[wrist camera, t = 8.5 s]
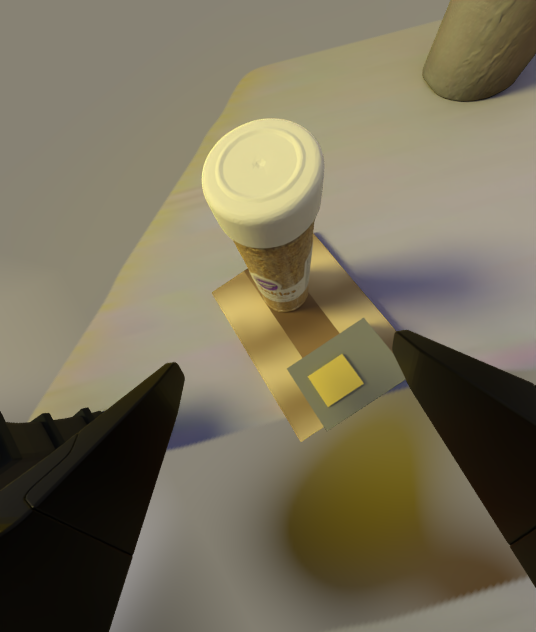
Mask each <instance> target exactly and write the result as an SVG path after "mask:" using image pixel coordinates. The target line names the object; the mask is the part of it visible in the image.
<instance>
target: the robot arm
mask: <svg viewBox="0 0 536 632" xmlns="http://www.w3.org/2000/svg"><path fill="white" fill-rule="evenodd" d="M392 351H393V354H394V356H395V358H396V360H397V362H398V364H399V366H400V369H401V371H402V373H403V375H404V377H405V379H406V381H407V383H408V385H409V387H410V389H411V390H412V392H413V394H414V395H415V397H416V398H417V400H418V401H419V403H420V405H421V406H422V408H423V410H424V411H425V413H426V414H427V416H428V417H429V419H430V421H431V422H432V424H433V425H434V427H435V429H436V430H437V432H438V433H439V435H440V437H441V438H442V440H443V441H444V443H445V444H446V446H447V447H448V449H449V451H450V452H451V454H452V456H453V457H454V459H455V460H456V462H457V463H458V465H459V467H460V468H461V470H462V471H463V473H464V475H465V476H466V478H467V479H468V481H469V482H470V484H471V486H472V487H473V489H474V490H475V492H476V494H477V495H478V497H479V498H480V500H481V501H482V503H483V505H484V506H485V508H486V509H487V511H488V513H489V514H490V516H491V517H492V519H493V520H494V522H495V524H496V525H497V527H498V528H499V530H500V531H501V533H502V535H503V536H504V538H505V539H506V541H507V542H508V544H509V545H510V548H511V549H512V551H513V552H514V554H515V556H516V557H517V559H518V560H519V562H520V563H521V565H522V567H523V568H524V570H525V571H526V573H527V575H528V576H529V578H530V580H531V581H532V583H533V584H534V586H535V587H536V385H534V384H533V383H531V382H529V381H526V380H524V379H522V378H519V377H517V376H514V375H512V374H510V373H508V372H505V371H503V370H501V369H498V368H496V367H493V366H491V365H489V364H486V363H484V362H482V361H479V360H477V359H475V358H472V357H470V356H468V355H465V354H463V353H461V352H458V351H456V350H454V349H451V348H449V347H447V346H444V345H442V344H440V343H437V342H435V341H433V340H430V339H428V338H425V337H423V336H421V335H418V334H416V333H414V332H411V331H409V330H401V331H396V332H395V333H394V338H393V345H392ZM184 381H185V377H184V374H183V372H182V371H181V369H180V367H179V365H178V364H177V363H176V362H172V363H166V364H165V365H163V366H162V367H161V368H160V369H158V370H157V371H156V372H155V373H153V374H152V375H151V376H149V377H148V378H147V379H146V380H144V381H143V382H142V383H141V384H139V385H138V386H137V387H135V388H134V389H133V390H132V391H130V392H129V393H128V394H126V395H125V396H124V397H123V398H121V399H120V400H119V401H118V402H116V403H115V404H114V405H112V406H111V407H110V408H109V409H107V410H106V411H105V412H104V413H102V414H101V415H100V416H98V417H97V418H96V419H95V420H93V421H92V422H91V423H89V424H88V425H87V426H86V427H84V428H83V429H82V430H81V431H80V432H79V433H77V434H75V435H74V436H73V437H72V438H70V439H69V440H68V441H66V442H65V443H64V444H63V445H61V446H60V447H59V448H57V449H56V450H55V451H53V452H52V453H51V454H50V455H48V456H47V457H46V458H44V459H43V460H41V461H40V462H39V463H37V464H36V465H35V466H33V467H32V468H31V469H29V470H28V471H27V472H25V473H24V474H22V475H21V476H20V477H18V478H17V479H15V480H14V481H13V482H11V483H10V484H9V485H7V486H6V487H4V488H3V489H2V490H0V632H109V630H110V627H111V624H112V620H113V617H114V614H115V611H116V608H117V605H118V601H119V598H120V595H121V592H122V589H123V585H124V583H125V579H126V576H127V573H128V570H129V566H130V564H131V560H132V555H133V554H134V550H135V547H136V544H137V541H138V538H139V535H140V531H141V528H142V525H143V522H144V519H145V516H146V512H147V509H148V506H149V503H150V500H151V497H152V493H153V490H154V487H155V484H156V481H157V478H158V474H159V471H160V468H161V465H162V462H163V459H164V455H165V452H166V449H167V446H168V443H169V440H170V437H171V433H172V430H173V427H174V424H175V421H176V417H177V414H178V410H179V405H180V400H181V395H182V391H183V386H184Z"/></svg>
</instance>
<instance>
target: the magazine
mask: <svg viewBox="0 0 536 632" xmlns="http://www.w3.org/2000/svg"><path fill="white" fill-rule="evenodd" d="M102 413H103V412H101V411H97V412H93V413H91V411H90V410H89V408H83V409H81V410H80V411H79V412H78V413H76V414H75V415H74V416H73V417H70V418H65V419H58V420H53V419H52V417H51V415H50V414H49V413H43V414H41V415H40V416H38V417H37V418H35V419H34V420H33V421H31V422H28V423H10V422H5V420H4V417H3V415H2V414H1V412H0V490H2V489H3V488H4V487H6V486H7V485H9V484H10V483H11V482H13V481H14V480H15V479H17V478H18V477H20V476H21V475H22V474H24V473H25V472H27V471H28V470H29V469H31V468H32V467H33V466H35V465H36V464H37V463H39V462H40V461H41V460H43V459H44V458H46V457H47V456H48V455H50V454H51V453H52V452H53V451H55V450H56V449H57V448H59V447H60V446H61V445H63V444H64V443H65V442H66V441H68V440H69V439H70V438H72V437H73V436H74V435H75V434H77V433H79V432H80V431H81V430H82V429H83V428H84V427H86V426H87V425H88V424H89V423H91V422H92V421H93V420H95V419H96V418H97V417H98V416H100V415H101V414H102Z"/></svg>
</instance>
